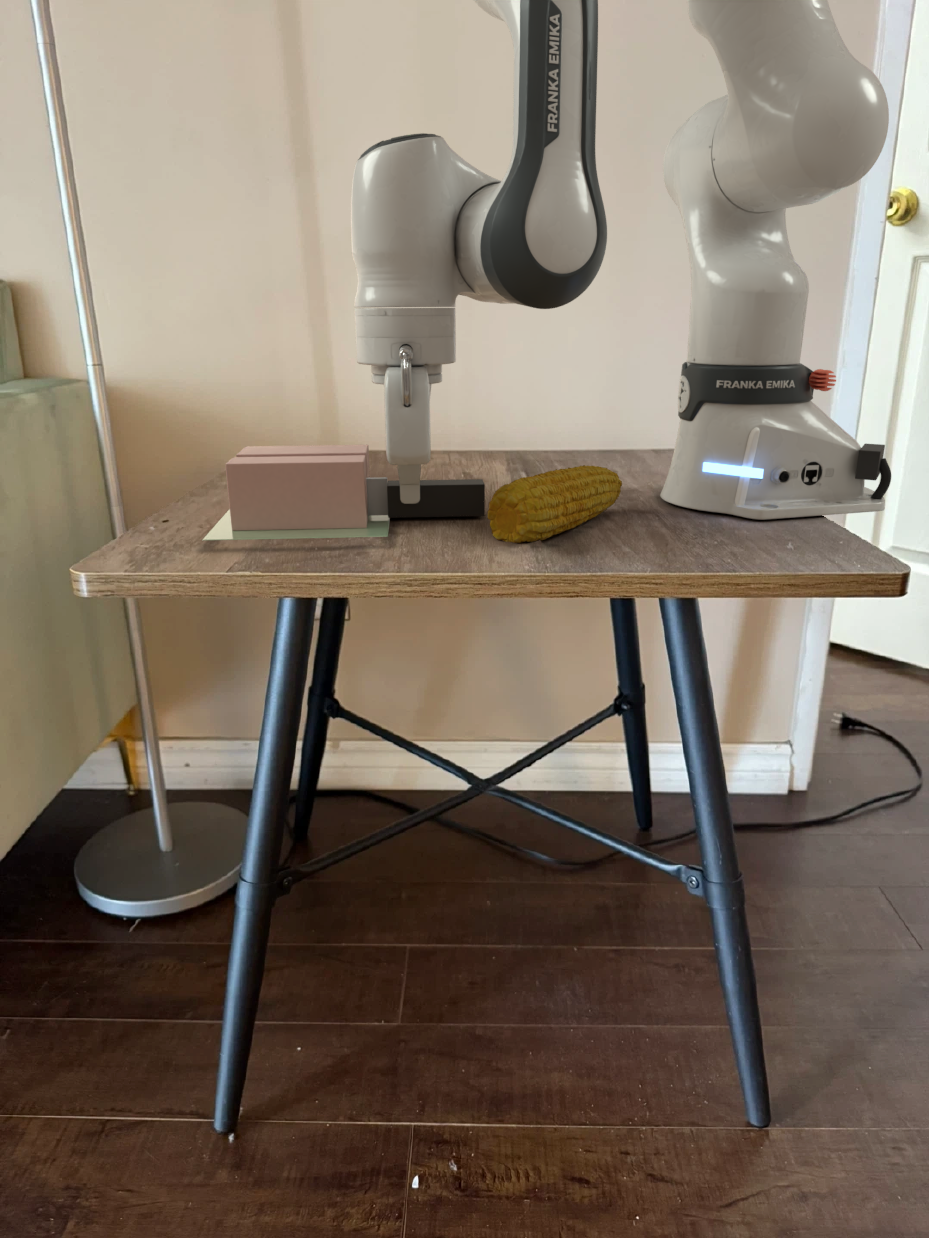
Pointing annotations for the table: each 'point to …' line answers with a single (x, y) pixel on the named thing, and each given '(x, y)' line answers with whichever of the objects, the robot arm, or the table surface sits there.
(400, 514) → the knife
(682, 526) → the table surface
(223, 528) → the plate
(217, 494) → the table surface
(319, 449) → the pink rectangular block
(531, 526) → the food
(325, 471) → the dusty pink brick
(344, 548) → the table surface
